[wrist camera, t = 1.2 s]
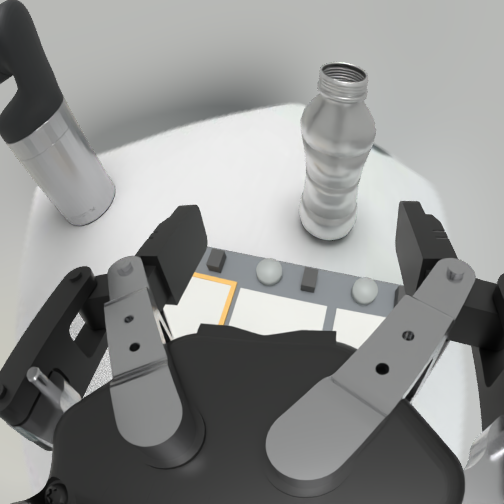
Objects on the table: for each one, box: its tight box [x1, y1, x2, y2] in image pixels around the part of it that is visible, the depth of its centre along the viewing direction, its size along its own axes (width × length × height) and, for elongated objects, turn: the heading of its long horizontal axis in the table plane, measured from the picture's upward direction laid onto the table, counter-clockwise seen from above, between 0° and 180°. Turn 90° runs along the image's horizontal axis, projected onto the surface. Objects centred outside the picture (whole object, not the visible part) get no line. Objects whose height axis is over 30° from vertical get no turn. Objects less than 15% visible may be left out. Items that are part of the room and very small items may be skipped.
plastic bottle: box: [299, 62, 376, 240], centre depth 28 cm, size 6×7×20 cm
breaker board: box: [163, 247, 412, 405], centre depth 30 cm, size 30×14×3 cm, turn 74°
